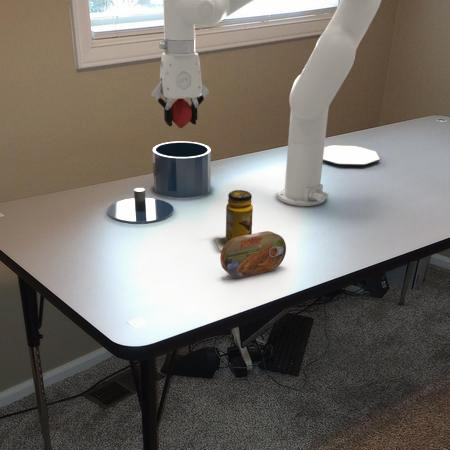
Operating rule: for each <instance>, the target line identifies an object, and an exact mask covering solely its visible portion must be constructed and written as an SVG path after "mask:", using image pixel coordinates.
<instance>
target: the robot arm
mask: <svg viewBox="0 0 450 450" xmlns="http://www.w3.org/2000/svg"><path fill="white" fill-rule="evenodd" d="M253 1H254V0H162V3H163V34H164V37H163V41H161V42H159V43H158V48H159V50H163V51H164V52H162V53H161V61H160V68H159V69H160V71H159V83H158V84H157V85H156V87H154V89H153V90H152V92H151V93H150V95H151V97H152V98H154V100H156V102H158V104H159V105H160V106H161V107H162V108H163V116H164V117H163V119H164V122H165V123H166V125H167V126H168V127H172V126H173V121H172V110H171V109H170V108H171V106H172V104H173V103H172V102H173V100H177V99H180V98H183V99H189V101H190V107H191V109H192V118H191V120H190V122H189V123H191V124H192V125H197V121H198V109H199V107H200V105H201V104H202V103H203V102H204V100H205V98H206V97H208V95H209V94H210V90H209V89H208V87H206V86H205V84H204V83H203V81H202V80H203V79H202V69H201V61H200V56H199V53H198V52H196V25H197V26H202V27H214V26H217V25H218V24H220V22H222V21H223V20H224V19H226V18H228V17H229V16H230V15H232V14H234V13H236V12H237V11H239V10H240V9H242V8H243V7H245V6H246V5H248V4H250V3H252V2H253ZM381 3H382V0H340V2H339V4H338V6H337V8H336V9H335V12H334V13H333V16H332V18H331V19H330V21H329V22H328V24H327V26H326V28H325V30H324V31H323V32H322V34H321V35H320V36H319V38H318V39H317V41H316V44H315V47H314V49H313V50H312V53H311V54H310V56H309V58H308V60H307V62H306V63H305V65H304V67H303V69H302V71H301V73H300V74H299V75H298V76H297V77H296V78H295V80H294V81H293V84H292V87H291V88H290V89H291V90H290V93H289V98H288V99H289V100H288V101H289V108H290V113H289V114H290V115H289V126H288V139H287V150H286V151H287V152H286V167H285V181H284V188H283V189H281V190H280V191H279V192H278V199H279V200H280V201H281V202H282V203H284V204H288V205H292V206H298V207H313V206H317V205H320V204H323V203H324V202H325V200H326V199H327V198H328V197H329V193H328V192H326V191H323V190H324V184H323V183H321V182H322V171H323V165H324V163H323V162H324V161H323V154H324V147H325V144H326V138H327V137H326V136H327V127H328V117H329V110H330V109H329V108H330V106H331V103H332V102H333V100H334V98H335V97H336V96H337V93H338V92H339V90H340V88H341V87H342V85H343V83H345V82H344V81H345V80H346V78H347V76H348V75H349V73H350V71H351V69H352V67H353V65H354V62H355V59H356V52H357V50H358V47H359V45H360V43H361V42H362V40H363V38H364V36H365V34H366V33H367V31H368V30H369V27H370V25H371V23H372V22H373V19H374V18H375V16H376V15H377V12H378V10H379V8H380V5H381ZM160 94H161V95H162V96H164V98H162V97H161V96H160Z"/></svg>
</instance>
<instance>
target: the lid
mask: <svg viewBox="0 0 450 450" xmlns="http://www.w3.org/2000/svg"><path fill="white" fill-rule="evenodd" d="M174 212H175V211H174V206H173V205H172V204H171V203H170V202H168V201H165V200H163V199H162V200H161V199H158V198H151V197H146V189H145V188H144V187H136V188H134V189H133V197H132V198H126V199H122V200H118V201H116V202H114V203H112V204H111V205H109V206H108V207H107V215H108V216H109V217H110V218H111V219H112V220H114V221H116V222H120V223H124V224H134V225H135V224H137V225H141V224H142V225H144V224H145V225H147V224H152V223H154V224H155V223H159V222H161V221H165V220H167V219H169V218H170V217H172V216H173V214H174Z"/></svg>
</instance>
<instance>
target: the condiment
mask: <svg viewBox="0 0 450 450" xmlns="http://www.w3.org/2000/svg"><path fill="white" fill-rule="evenodd" d="M252 197H253V196H252V193H251V192H250V191H247V190H243V189H235V190H232V191H230V192H229V193H228V194H227V198H228V199H227V204H226V207H225V209H226V211H225V236H224V237H213V240H214V242H215V244H216V246H217V248H218V250H219V251H220V252H221V251H222V249H223V247H224V245H225V244H226V243H227V242H228V241H229V240H231V239H233V238H235V237H240V236H245V235H250V234H253V212H254V210H253V209H254V208H253V204H252V203H253V202H252Z"/></svg>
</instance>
